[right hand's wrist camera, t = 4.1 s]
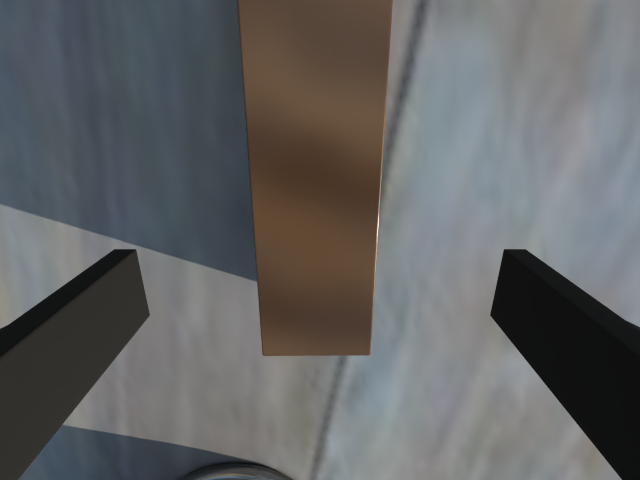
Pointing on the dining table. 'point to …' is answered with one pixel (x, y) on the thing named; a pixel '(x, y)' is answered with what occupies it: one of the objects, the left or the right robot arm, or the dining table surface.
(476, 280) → the dining table surface
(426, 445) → the dining table surface
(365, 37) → the post
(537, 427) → the dining table surface
